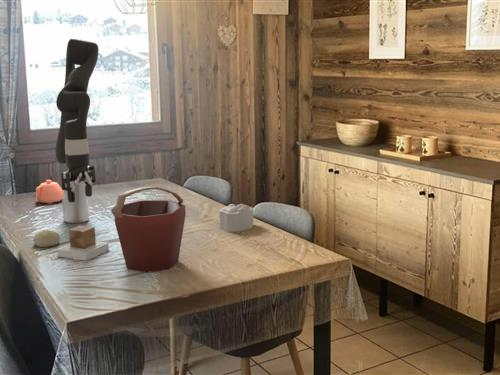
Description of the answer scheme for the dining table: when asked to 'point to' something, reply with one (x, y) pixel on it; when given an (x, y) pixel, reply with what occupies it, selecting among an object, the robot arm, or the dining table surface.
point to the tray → (83, 251)
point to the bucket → (149, 231)
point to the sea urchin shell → (46, 238)
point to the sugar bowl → (49, 192)
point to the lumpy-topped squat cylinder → (236, 218)
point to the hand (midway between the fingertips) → (80, 199)
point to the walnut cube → (82, 237)
